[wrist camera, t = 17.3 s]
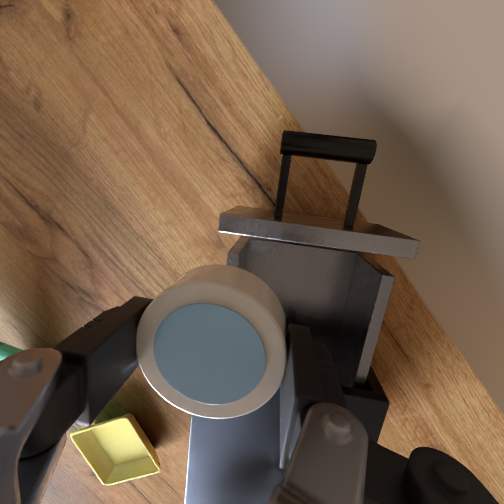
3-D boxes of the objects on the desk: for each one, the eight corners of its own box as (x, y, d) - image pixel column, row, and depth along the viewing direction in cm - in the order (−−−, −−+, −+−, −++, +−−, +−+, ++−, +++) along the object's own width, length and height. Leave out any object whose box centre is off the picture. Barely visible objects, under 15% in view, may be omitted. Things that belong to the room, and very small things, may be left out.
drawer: (244, 137, 22) (228, 115, 15) (396, 154, 21) (450, 139, 14) (223, 340, 27) (203, 392, 20) (344, 362, 26) (366, 423, 19)
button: (193, 239, 10) (171, 252, 8) (311, 306, 10) (319, 335, 8) (141, 341, 11) (111, 374, 9) (246, 400, 11) (239, 444, 9)
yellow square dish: (135, 402, 32) (126, 416, 30) (168, 455, 33) (161, 473, 31) (80, 419, 33) (67, 434, 31) (114, 469, 35) (104, 487, 33)
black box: (221, 310, 27) (194, 367, 19) (354, 332, 26) (390, 402, 18) (210, 424, 31) (183, 515, 23) (325, 447, 30) (343, 551, 22)
